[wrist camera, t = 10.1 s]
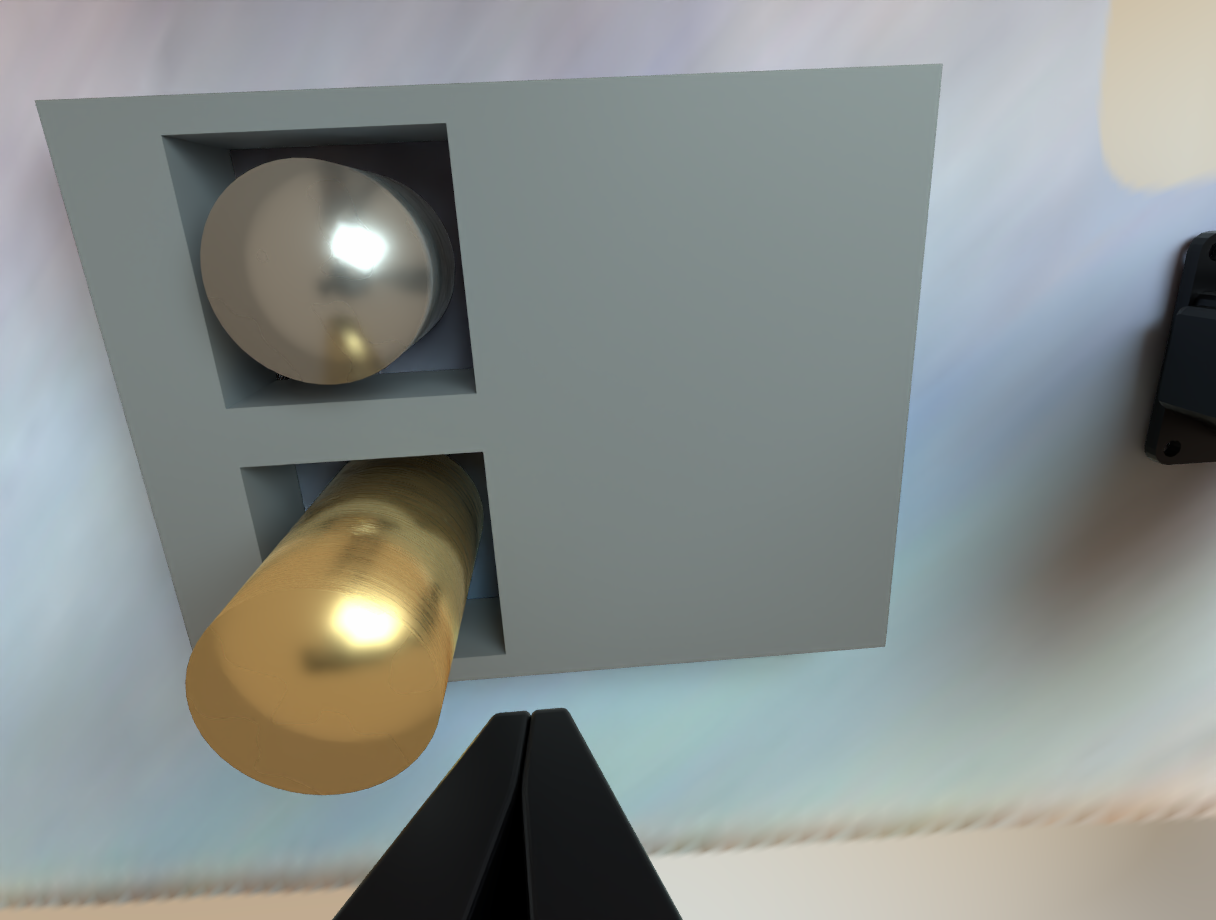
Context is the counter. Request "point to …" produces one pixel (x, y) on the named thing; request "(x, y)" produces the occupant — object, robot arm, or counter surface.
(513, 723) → the robot arm
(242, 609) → the brass cylinder
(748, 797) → the counter surface
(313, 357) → the chrome sphere
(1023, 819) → the counter surface
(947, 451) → the counter surface
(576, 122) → the jig
